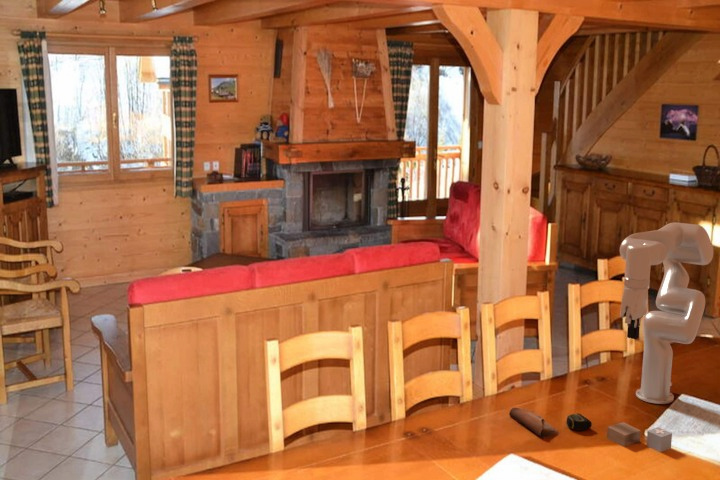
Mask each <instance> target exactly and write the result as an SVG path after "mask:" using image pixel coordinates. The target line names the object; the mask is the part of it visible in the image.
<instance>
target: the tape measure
mask: <svg viewBox="0 0 720 480" xmlns="http://www.w3.org/2000/svg"><path fill="white" fill-rule="evenodd" d="M566 425H567V427H568V428H570V429H572V430H575V431H585V430H587V429H591V428H592V426H593V422H592V421H591V420H590V419H589V418H587V417H586V416H584V415H582V413H572V414H568V415H567V418H566Z"/></svg>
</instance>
